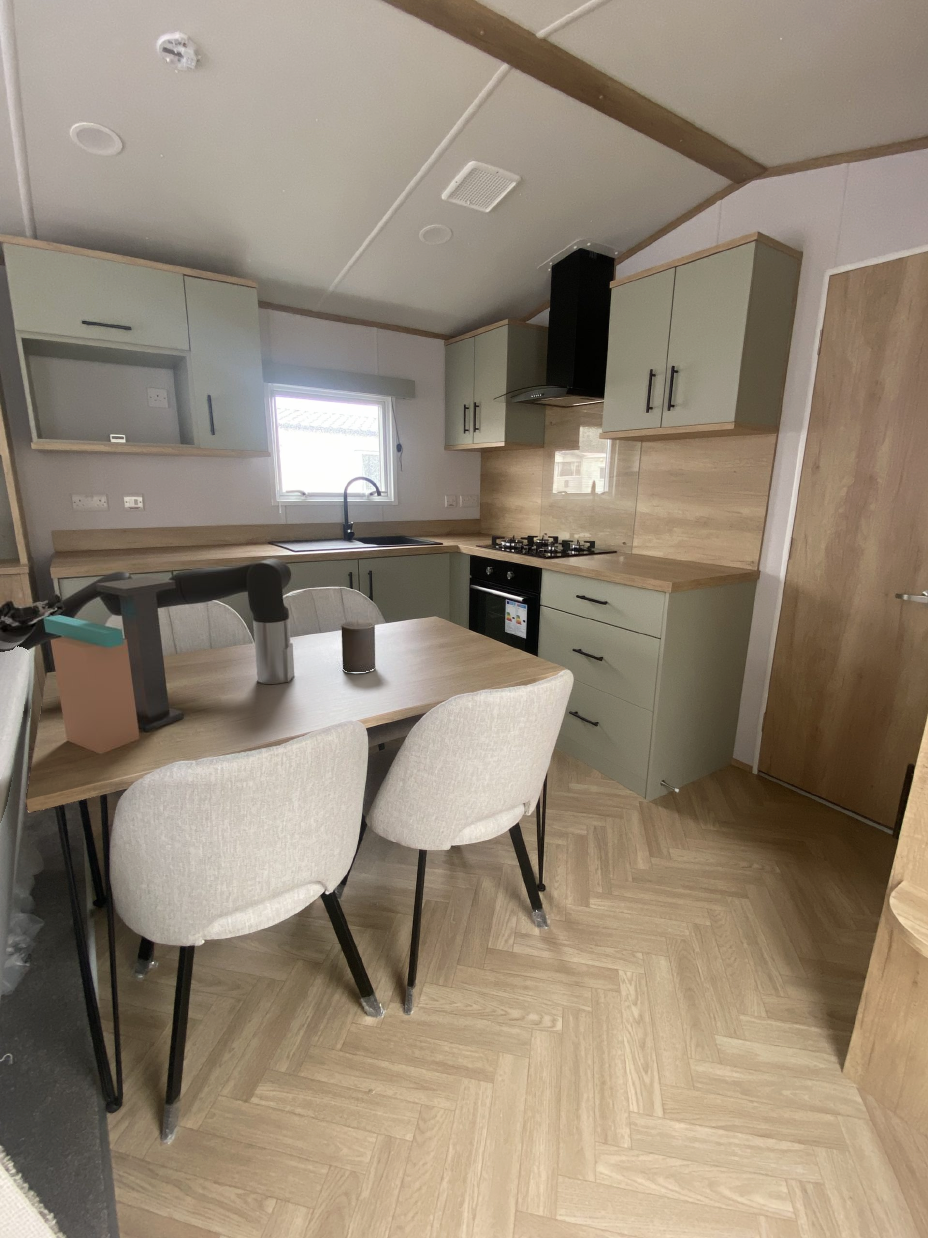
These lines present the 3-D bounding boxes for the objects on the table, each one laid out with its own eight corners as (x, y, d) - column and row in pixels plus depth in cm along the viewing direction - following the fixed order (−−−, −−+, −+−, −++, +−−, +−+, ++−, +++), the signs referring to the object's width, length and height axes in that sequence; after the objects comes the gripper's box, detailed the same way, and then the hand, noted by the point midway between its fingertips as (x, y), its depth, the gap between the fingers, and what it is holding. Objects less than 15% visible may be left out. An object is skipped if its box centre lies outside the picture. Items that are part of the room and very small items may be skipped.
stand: (115, 724, 124) (95, 583, 116) (161, 708, 133) (146, 576, 126) (143, 734, 119) (124, 588, 112) (189, 716, 129) (174, 581, 121)
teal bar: (45, 631, 116) (43, 617, 116) (61, 628, 119) (59, 615, 118) (108, 648, 106) (106, 632, 106) (123, 644, 109) (121, 629, 108)
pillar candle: (335, 671, 161) (334, 621, 158) (354, 662, 170) (353, 614, 166) (364, 676, 158) (363, 625, 154) (382, 666, 167) (381, 618, 163)
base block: (67, 740, 116) (50, 639, 111) (106, 726, 123) (92, 630, 118) (100, 754, 111) (84, 649, 105) (139, 738, 118) (126, 639, 112)
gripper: (51, 635, 133) (78, 610, 125) (-22, 650, 121) (2, 624, 113) (38, 607, 133) (64, 580, 125) (-36, 619, 121) (-13, 590, 113)
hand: (35, 601), depth 119 cm, fingers open, 8 cm apart
